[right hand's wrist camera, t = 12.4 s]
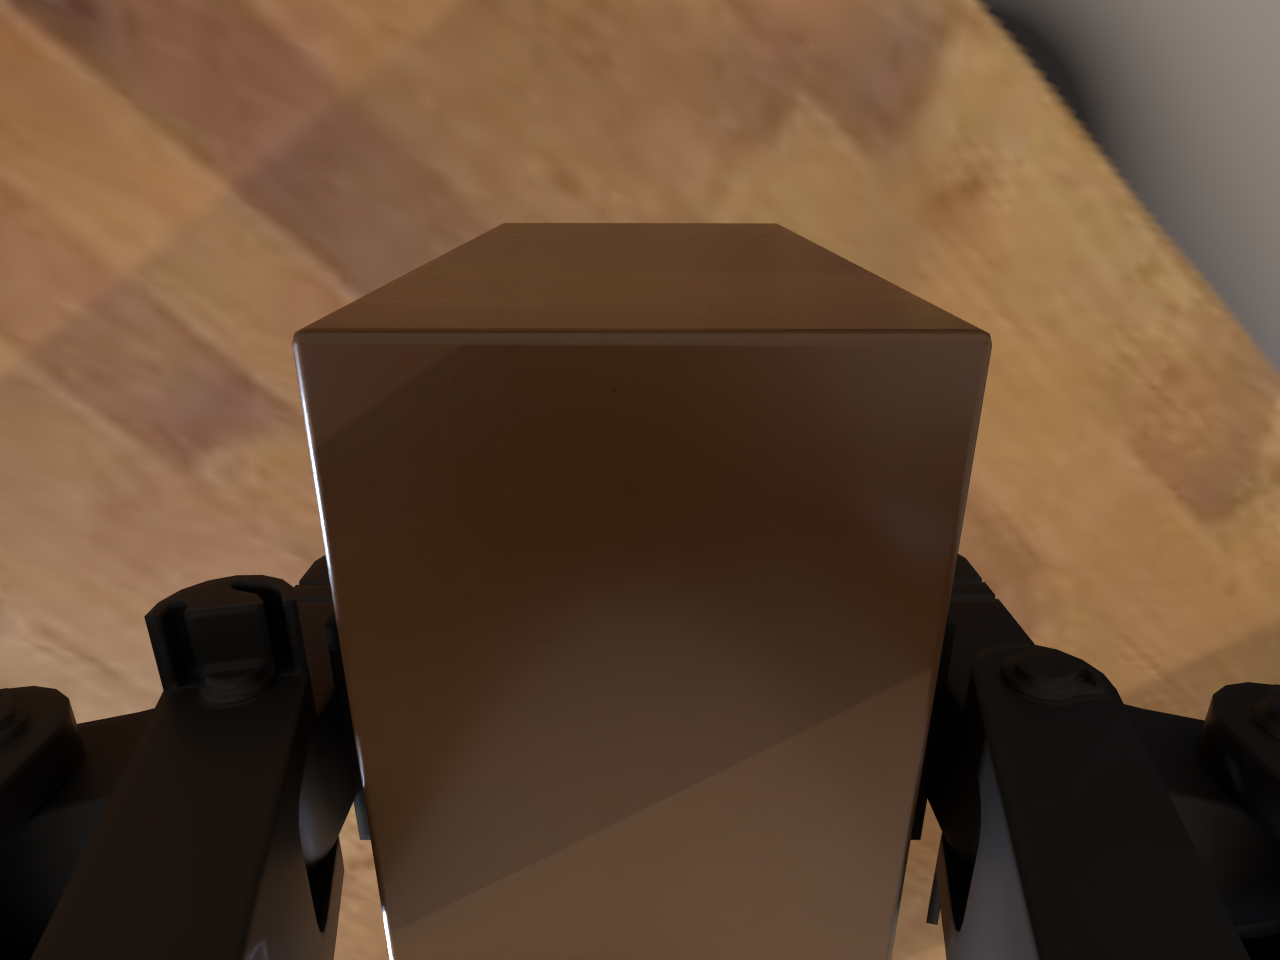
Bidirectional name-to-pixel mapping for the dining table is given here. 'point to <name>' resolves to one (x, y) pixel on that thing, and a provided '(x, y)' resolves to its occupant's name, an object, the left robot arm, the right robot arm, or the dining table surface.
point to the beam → (641, 586)
